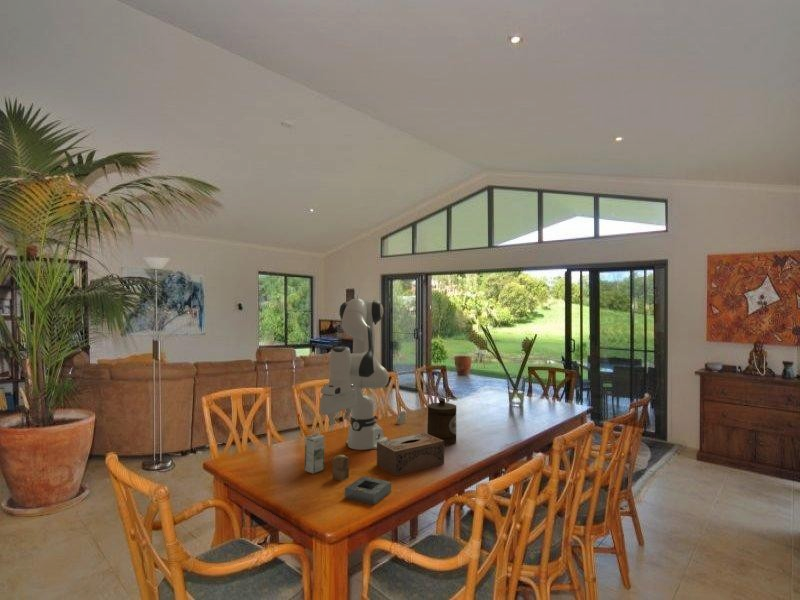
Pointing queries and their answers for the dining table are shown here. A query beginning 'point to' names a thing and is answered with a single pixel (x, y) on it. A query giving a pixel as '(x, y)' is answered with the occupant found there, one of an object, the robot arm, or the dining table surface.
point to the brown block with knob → (340, 467)
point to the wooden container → (442, 421)
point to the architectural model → (401, 417)
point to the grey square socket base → (368, 490)
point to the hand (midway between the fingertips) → (339, 421)
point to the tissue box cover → (410, 453)
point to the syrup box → (314, 453)
